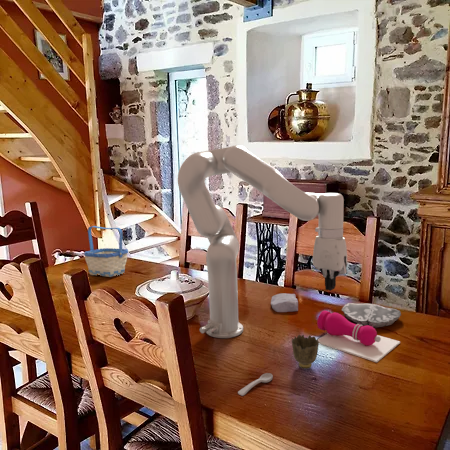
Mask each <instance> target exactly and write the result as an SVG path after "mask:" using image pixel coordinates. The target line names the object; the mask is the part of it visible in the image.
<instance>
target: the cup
mask: <svg viewBox="0 0 450 450" xmlns="http://www.w3.org/2000/svg"><path fill="white" fill-rule="evenodd" d="M318 339H319V338H316V336H311V335H308V337H305V335H304V334H303V335H300V334H298V335H297V336H294V337H292V339H291V347H292V353H293V354H292V355H293V357H294V360H295V361H296V362H297V363H298V366H299V367H300V368H301V369H302V370H309V369H310V368H312V365H313V363H314V362H315V361H316V359H317V357H318V351H319V345H320V344H319V341H318Z"/></svg>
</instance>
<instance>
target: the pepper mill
mask: <svg viewBox="0 0 450 450" xmlns="http://www.w3.org/2000/svg"><path fill="white" fill-rule="evenodd" d="M316 323H317V324H316V326H317V328H318V329H320V330H321V331H325V332H326V334H327V333H329V334H331V335H335V336H338V335H347V336H351V337H353V339H354V340H357V341H360V342H361V343H362V344H363V345H366V346H370V345H372V344H373V343H374V342H375V341H376V342H380V340H381V338H380V337H379V336H380V335H379V336H377V335H378V332H377V330H376V328H375V327H371V326H369V325H366V326H364V325H360V324H358V323H353V322H351V321H350V320H349V319H348V318H347V317H346V316H344V315H343V314H341V313H339V312H331V311H328V310H322V311H321V312H320V313H319V315H318V317H317V321H316Z"/></svg>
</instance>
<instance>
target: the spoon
mask: <svg viewBox="0 0 450 450" xmlns="http://www.w3.org/2000/svg"><path fill="white" fill-rule="evenodd" d="M272 380H273V374H272V373H270V372H266V373H263V374H261V375H260V376H259V378H258V379H255V380H254V381H251V382H250V383H248V384H247V385H245V386H244V387H242V388H241V389H240V390H238V391H237V394H238V396H239V395H240V396H241V397H243V396H245V395H246V394H247V393H248V392H249V391H250V390H251V389H252V388H253V387H255V386H256V385H258V384H260V383H263V384H266V383H269V382H271V381H272Z"/></svg>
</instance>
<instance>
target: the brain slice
mask: <svg viewBox="0 0 450 450" xmlns="http://www.w3.org/2000/svg"><path fill="white" fill-rule="evenodd" d="M341 311H342V312H343V313H344V314H343V315H344V317H345V318H346V319H347V320H348V321H352V322H354V323H355V324H360V325H363V326H366V325H369V326H371V327H373V328H383V327H388V326H391V325H393V324H394V323H395V321H398V320H399V319H400V317H401V316H402V313H401V310H400V309H396V308H391V307H390V308H389V307H385V306H382V305H379V304H377V303H375V304H374V303H352V302H348V303H346V304H344V305H343V306H342V308H341Z"/></svg>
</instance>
